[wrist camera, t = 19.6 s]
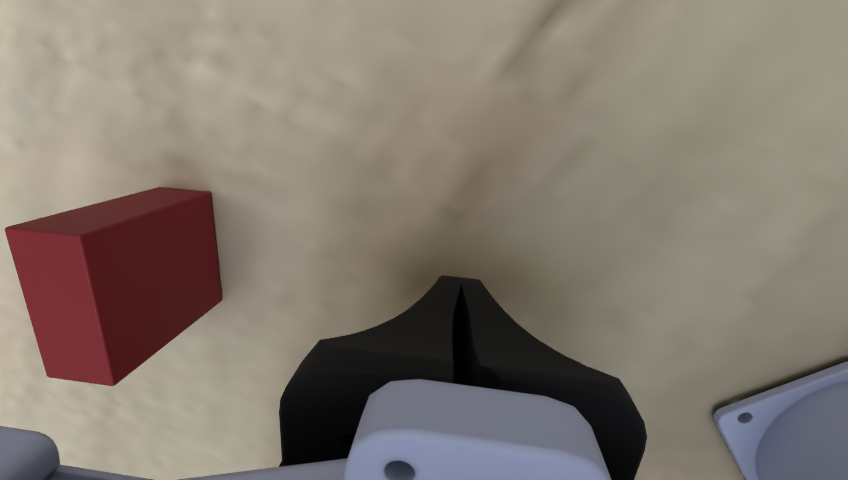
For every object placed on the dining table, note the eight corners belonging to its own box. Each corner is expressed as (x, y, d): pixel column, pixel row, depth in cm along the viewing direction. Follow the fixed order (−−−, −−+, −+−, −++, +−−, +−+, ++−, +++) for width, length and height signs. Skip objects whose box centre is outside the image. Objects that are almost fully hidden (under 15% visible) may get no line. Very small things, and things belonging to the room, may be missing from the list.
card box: (158, 186, 16) (2, 227, 10) (211, 191, 16) (79, 235, 10) (174, 295, 17) (46, 378, 12) (222, 300, 17) (113, 387, 12)
